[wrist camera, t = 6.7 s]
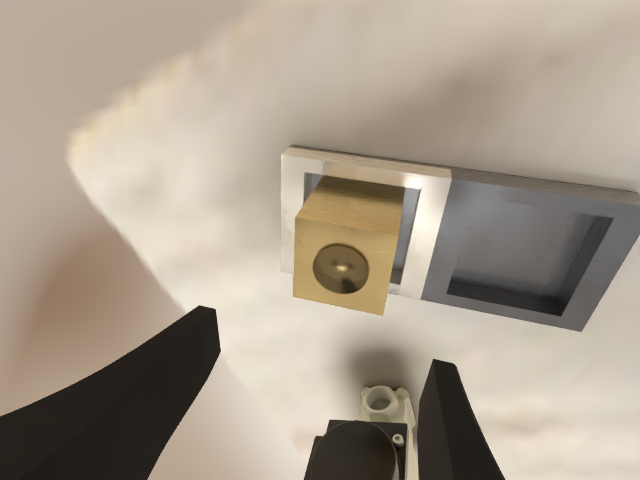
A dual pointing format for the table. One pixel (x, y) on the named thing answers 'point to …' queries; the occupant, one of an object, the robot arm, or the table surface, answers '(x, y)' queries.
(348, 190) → the brass cube with hole
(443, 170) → the tray
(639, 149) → the table surface
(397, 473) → the pneumatic valve
